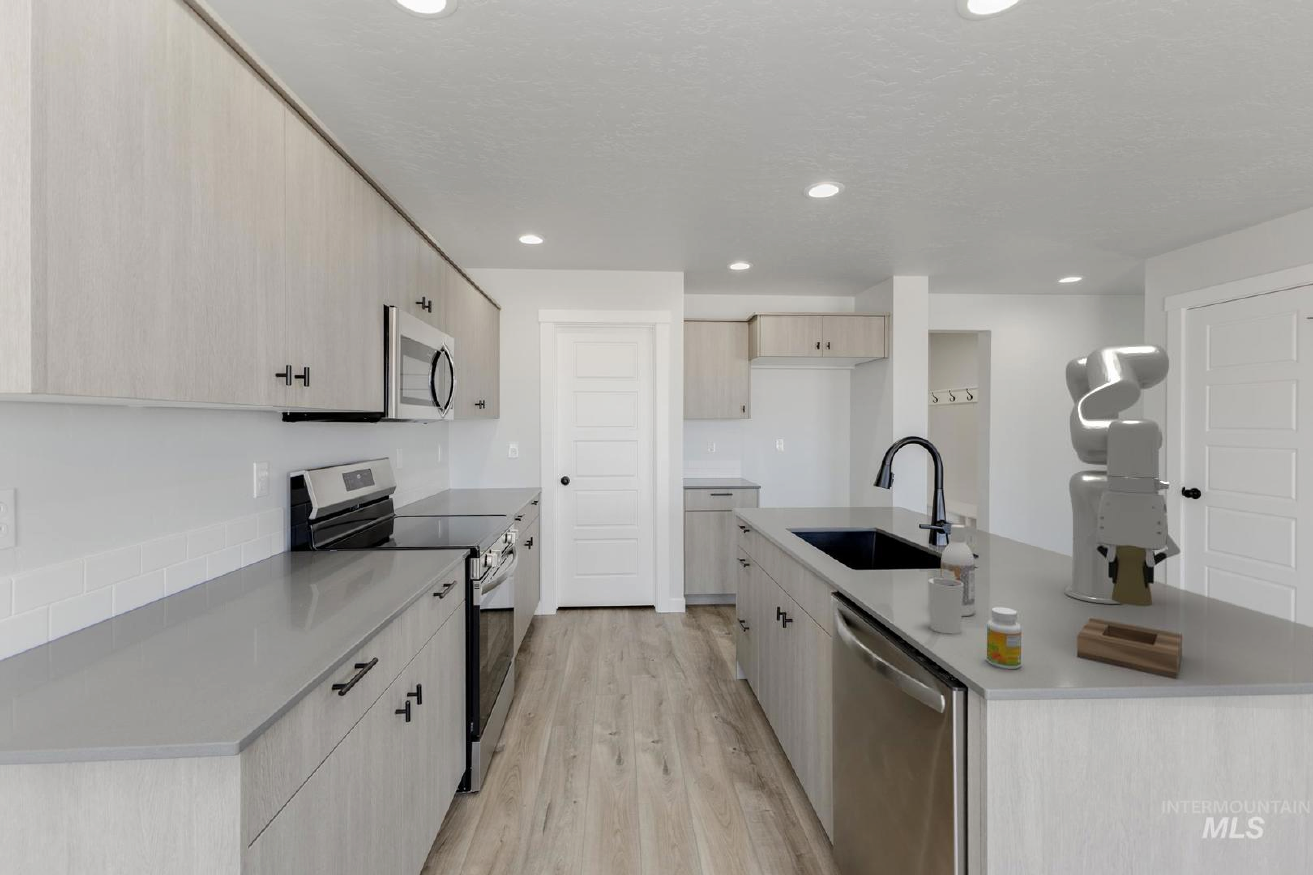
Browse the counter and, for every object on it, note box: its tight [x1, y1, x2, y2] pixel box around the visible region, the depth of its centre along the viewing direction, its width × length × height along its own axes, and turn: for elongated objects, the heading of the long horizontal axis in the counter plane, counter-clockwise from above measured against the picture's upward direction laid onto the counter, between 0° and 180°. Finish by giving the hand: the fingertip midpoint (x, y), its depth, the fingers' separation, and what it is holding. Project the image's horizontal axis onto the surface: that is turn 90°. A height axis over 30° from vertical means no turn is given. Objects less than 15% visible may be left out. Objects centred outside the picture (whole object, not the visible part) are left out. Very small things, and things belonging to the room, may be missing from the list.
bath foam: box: [940, 524, 976, 617], centre depth 138 cm, size 7×7×20 cm
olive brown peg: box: [1112, 545, 1153, 607], centre depth 112 cm, size 6×6×11 cm
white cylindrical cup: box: [928, 577, 963, 635], centre depth 127 cm, size 7×7×10 cm
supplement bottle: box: [986, 606, 1022, 670], centre depth 109 cm, size 5×5×10 cm
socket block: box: [1076, 617, 1183, 679], centre depth 112 cm, size 14×14×4 cm
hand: (1130, 583), depth 112 cm, fingers closed on olive brown peg, 3 cm apart
